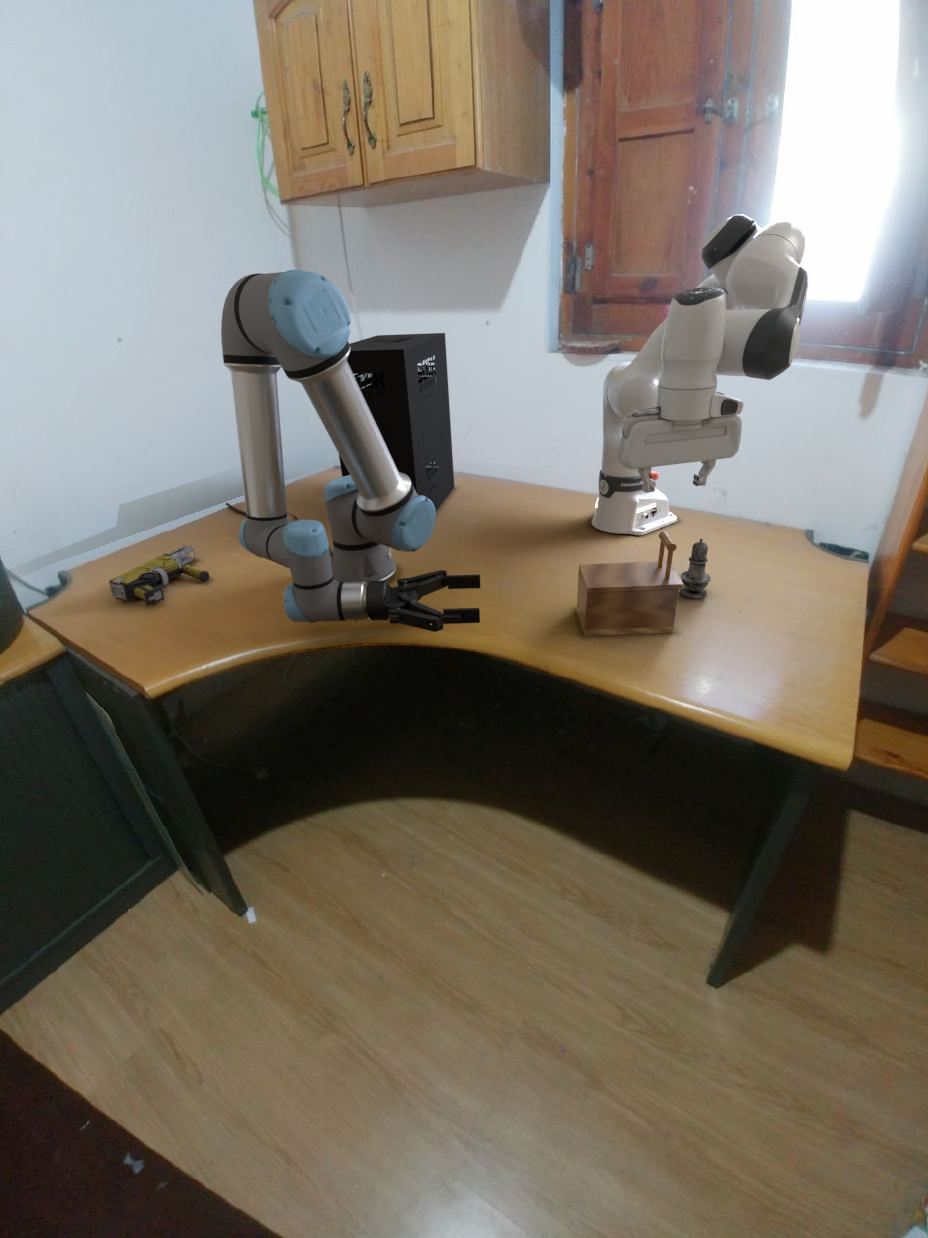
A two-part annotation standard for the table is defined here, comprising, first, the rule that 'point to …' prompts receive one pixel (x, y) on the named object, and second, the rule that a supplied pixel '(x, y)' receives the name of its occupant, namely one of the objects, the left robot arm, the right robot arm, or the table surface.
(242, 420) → the left robot arm
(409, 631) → the table surface
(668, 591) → the chest
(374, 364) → the black computer tower
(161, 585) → the toy gun
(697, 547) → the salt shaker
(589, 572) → the lid
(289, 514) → the eyeball
